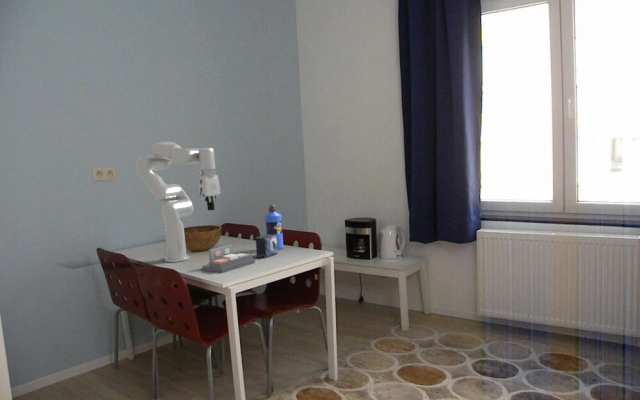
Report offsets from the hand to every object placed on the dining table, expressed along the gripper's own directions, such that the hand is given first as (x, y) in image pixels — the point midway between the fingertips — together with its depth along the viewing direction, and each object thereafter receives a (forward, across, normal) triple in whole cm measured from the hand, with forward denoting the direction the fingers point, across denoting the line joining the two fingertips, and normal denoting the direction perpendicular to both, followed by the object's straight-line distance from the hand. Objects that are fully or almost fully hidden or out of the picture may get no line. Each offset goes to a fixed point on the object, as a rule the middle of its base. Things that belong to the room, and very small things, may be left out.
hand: (211, 209), depth 249 cm
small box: (+27, +24, -13) cm, 39 cm away
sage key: (+25, +5, -13) cm, 28 cm away
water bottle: (+27, +39, -5) cm, 48 cm away
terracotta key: (+25, -8, -13) cm, 29 cm away
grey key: (+24, -2, -13) cm, 27 cm away
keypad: (+27, -2, -12) cm, 29 cm away
